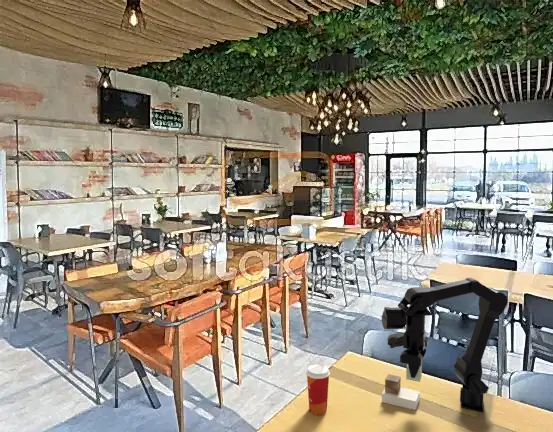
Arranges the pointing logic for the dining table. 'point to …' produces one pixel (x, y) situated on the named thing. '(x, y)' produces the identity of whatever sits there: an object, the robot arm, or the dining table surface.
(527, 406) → the dining table surface
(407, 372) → the sage cube
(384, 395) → the base slab
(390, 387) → the walnut cube
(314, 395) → the paper cup
